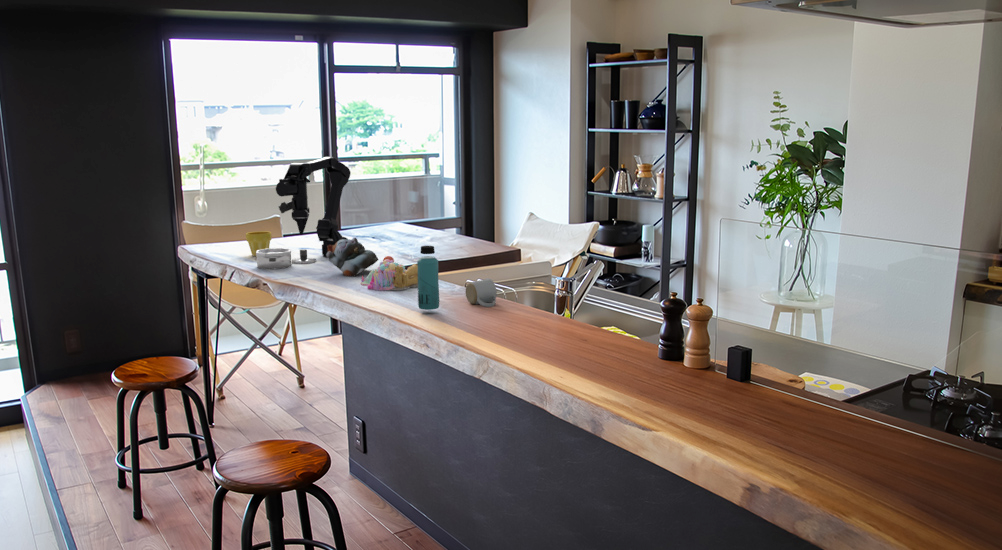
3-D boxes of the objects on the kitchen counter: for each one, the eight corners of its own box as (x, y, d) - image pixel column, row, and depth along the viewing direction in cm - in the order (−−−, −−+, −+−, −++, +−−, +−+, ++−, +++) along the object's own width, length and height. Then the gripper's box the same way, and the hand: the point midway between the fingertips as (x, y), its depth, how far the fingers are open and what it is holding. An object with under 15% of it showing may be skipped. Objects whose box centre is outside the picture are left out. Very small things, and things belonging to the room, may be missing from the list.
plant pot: (246, 254, 325) (244, 231, 323) (270, 252, 329) (269, 230, 327) (248, 257, 316) (247, 234, 314) (274, 256, 320) (272, 233, 318)
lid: (316, 260, 312) (315, 247, 311) (315, 264, 303) (315, 251, 302) (292, 260, 310) (291, 248, 309) (291, 265, 301) (290, 252, 300)
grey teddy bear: (351, 278, 272) (330, 240, 270) (335, 287, 282) (315, 251, 281) (385, 259, 282) (365, 223, 281) (369, 268, 293) (349, 234, 291)
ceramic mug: (463, 302, 235) (463, 279, 233) (485, 299, 239) (485, 276, 238) (480, 309, 227) (480, 285, 225) (502, 306, 231) (502, 282, 229)
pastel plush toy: (441, 282, 266) (441, 257, 265) (400, 295, 246) (400, 267, 245) (386, 275, 279) (386, 251, 277) (343, 287, 259) (342, 261, 257)
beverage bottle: (440, 309, 225) (439, 244, 221) (439, 314, 219) (438, 247, 215) (418, 309, 225) (417, 244, 221) (416, 315, 219) (415, 247, 215)
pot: (292, 261, 307) (291, 246, 305) (290, 269, 289) (289, 253, 288) (259, 262, 304) (258, 247, 303) (255, 271, 286) (254, 255, 285)
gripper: (280, 193, 308) (283, 230, 312) (277, 197, 291) (279, 236, 294) (308, 192, 311) (310, 229, 314) (306, 196, 293) (308, 235, 296)
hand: (301, 232), depth 304 cm, fingers open, 9 cm apart
